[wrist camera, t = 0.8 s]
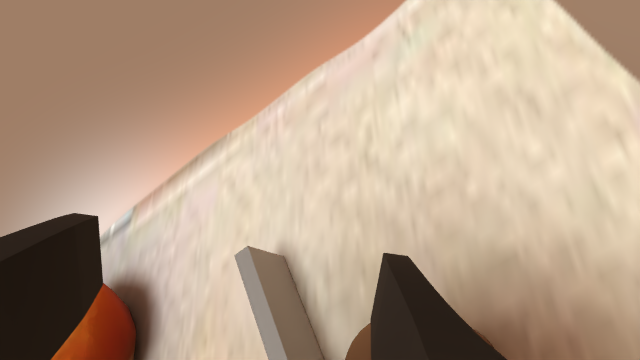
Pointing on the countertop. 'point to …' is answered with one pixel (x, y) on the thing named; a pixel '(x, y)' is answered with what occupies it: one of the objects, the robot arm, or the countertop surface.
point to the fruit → (102, 332)
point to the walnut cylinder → (369, 345)
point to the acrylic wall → (277, 306)
